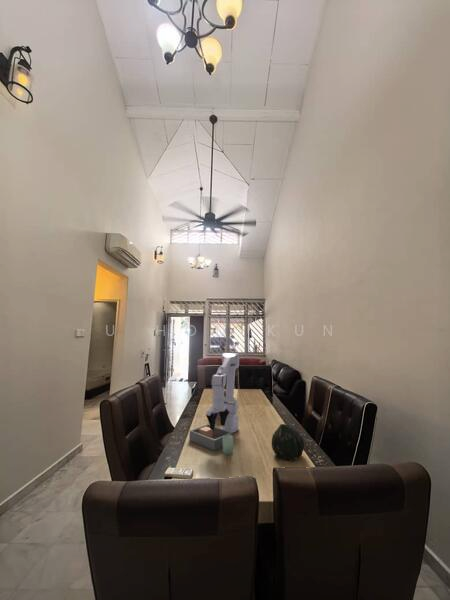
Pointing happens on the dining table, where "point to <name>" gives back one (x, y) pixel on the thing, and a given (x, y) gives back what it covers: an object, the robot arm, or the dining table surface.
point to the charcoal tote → (207, 442)
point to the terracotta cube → (206, 431)
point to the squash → (287, 443)
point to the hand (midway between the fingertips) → (217, 427)
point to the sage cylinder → (227, 445)
